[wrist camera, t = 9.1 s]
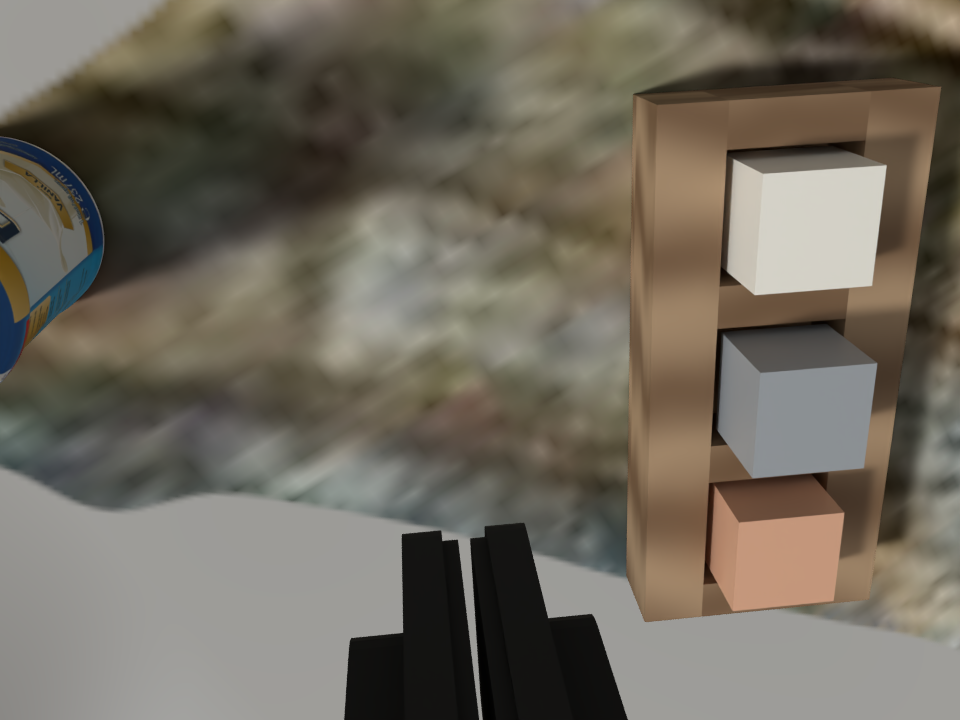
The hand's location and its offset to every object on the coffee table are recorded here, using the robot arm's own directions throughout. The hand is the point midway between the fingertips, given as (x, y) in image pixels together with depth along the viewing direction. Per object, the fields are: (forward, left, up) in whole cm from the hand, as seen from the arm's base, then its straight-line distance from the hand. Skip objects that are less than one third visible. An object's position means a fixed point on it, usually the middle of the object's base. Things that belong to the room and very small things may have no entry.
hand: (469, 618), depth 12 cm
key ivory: (+2, +16, -29) cm, 33 cm away
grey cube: (+10, +16, -28) cm, 34 cm away
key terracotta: (+18, +16, -29) cm, 38 cm away
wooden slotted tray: (+10, +16, -31) cm, 36 cm away
